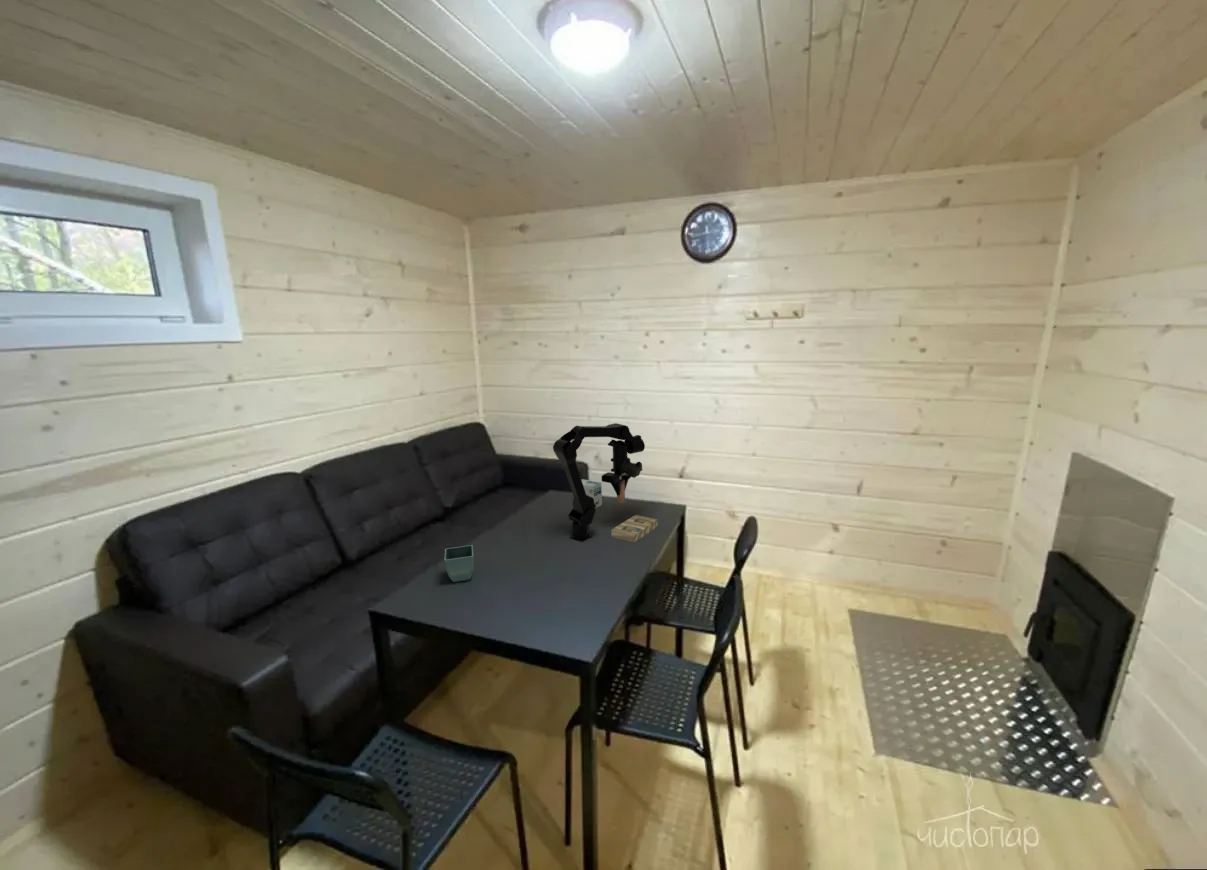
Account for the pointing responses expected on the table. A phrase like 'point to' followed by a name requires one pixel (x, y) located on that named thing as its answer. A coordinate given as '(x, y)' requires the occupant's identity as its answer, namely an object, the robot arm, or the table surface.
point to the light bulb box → (593, 491)
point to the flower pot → (459, 562)
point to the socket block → (634, 528)
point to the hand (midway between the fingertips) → (620, 493)
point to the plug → (621, 493)
